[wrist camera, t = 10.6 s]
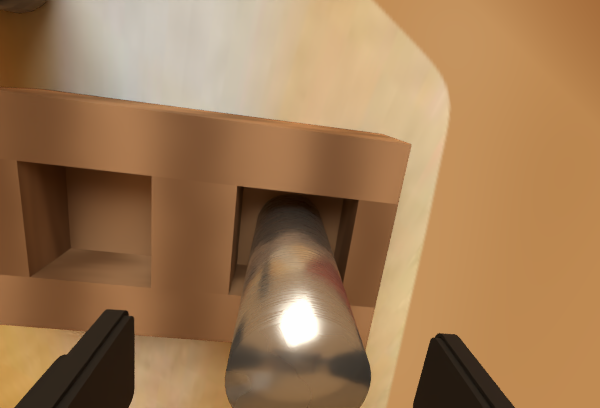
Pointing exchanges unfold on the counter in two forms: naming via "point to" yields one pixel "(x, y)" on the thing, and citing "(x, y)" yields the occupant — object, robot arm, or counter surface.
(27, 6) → the beverage cup
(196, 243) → the walnut block
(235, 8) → the counter surface
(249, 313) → the steel pin
